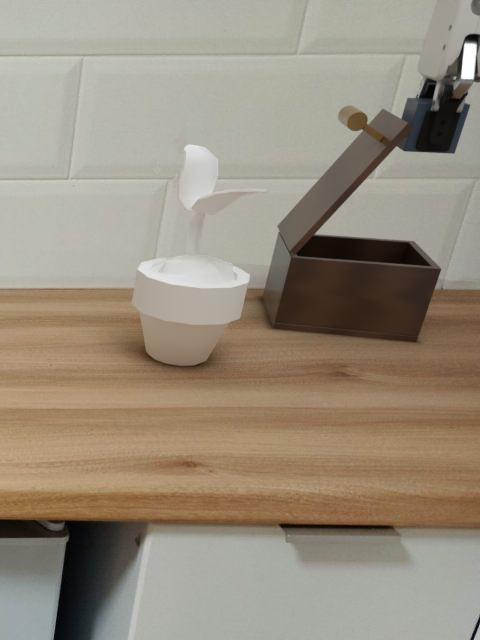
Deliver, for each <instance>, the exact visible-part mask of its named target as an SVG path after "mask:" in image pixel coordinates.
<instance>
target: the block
mask: <svg viewBox="0 0 480 640" xmlns="http://www.w3.org/2000/svg"><path fill="white" fill-rule="evenodd" d="M432 101H433V99H430V98H416V97H407V98H406V101H405V105H404V109H403V111H402V116H401V119H402V120H404V121H406V122H408V123H409V124H411V125H412V126H413V127H414V128H413V129H412V130H411V131H410V132H409V133H408V134H407V136H406V137H405V138H404V139H403V140H402V141H401V142H400V143H399V144H398V145H397V146H396V148H398V149H400V150H401V151H403V152H408V153H409V152H410V153H428V154H429V153H431V154H433V153H434V154H450V155H451V154H452V155H453V154H456V151H457V147H458V144H459V141H460V138H461V135H462V133H463V129H464V125H465V123H466V120H467V117H468V114H469V111H470V107H471V104H469V103H468V102H465V103H464V107H463V110H462V112H461V115H460V118H459V121H458V124H457V127H456V131H455V134H454V137H453V140H452V143H451V146H450V149H449V150H448V151H447V152H433V151H418V150H417V149H416V144H417V140H418V137H419V134H420V131H421V127H422V124H423V121H424V117H425V114H426V111H431V105H432Z"/></svg>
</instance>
